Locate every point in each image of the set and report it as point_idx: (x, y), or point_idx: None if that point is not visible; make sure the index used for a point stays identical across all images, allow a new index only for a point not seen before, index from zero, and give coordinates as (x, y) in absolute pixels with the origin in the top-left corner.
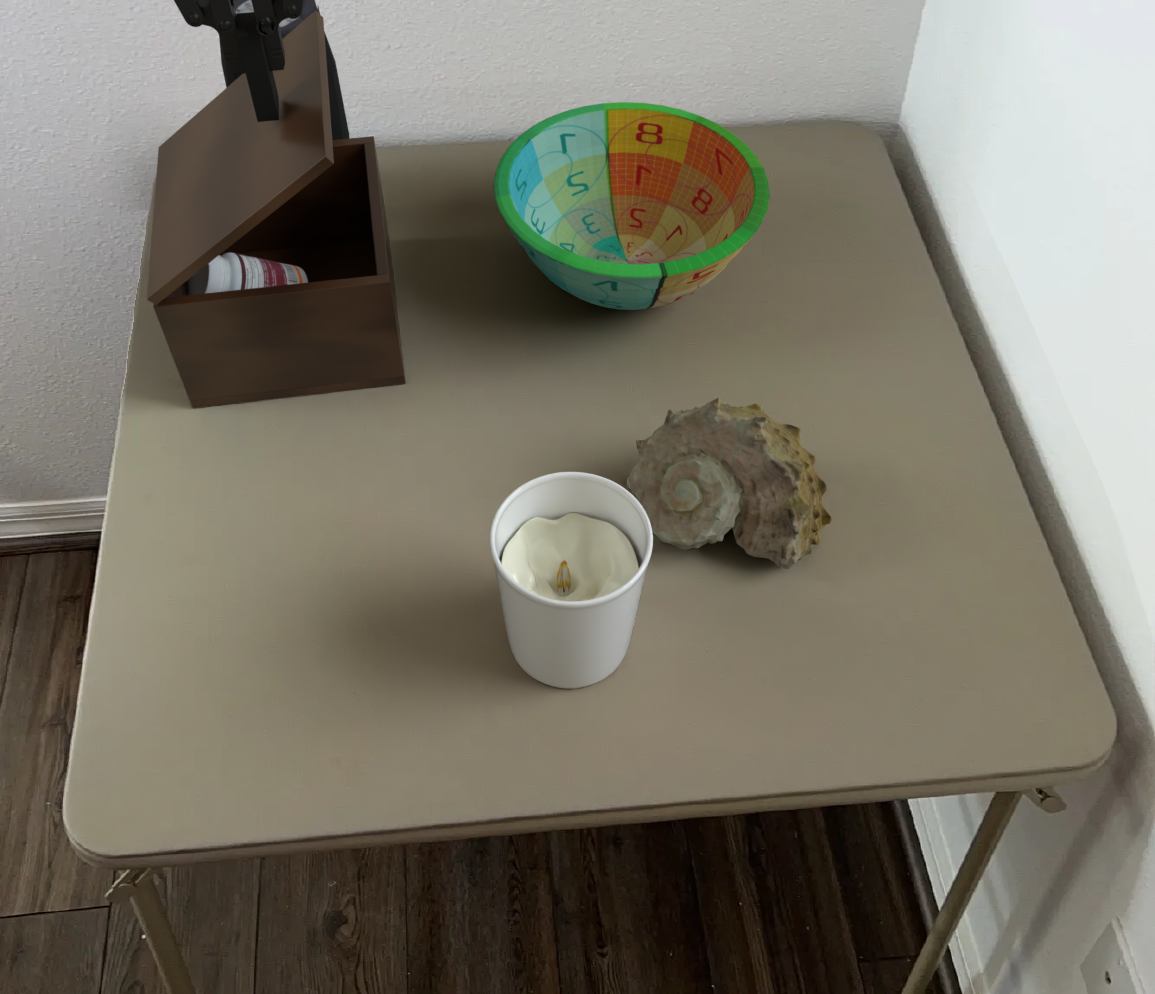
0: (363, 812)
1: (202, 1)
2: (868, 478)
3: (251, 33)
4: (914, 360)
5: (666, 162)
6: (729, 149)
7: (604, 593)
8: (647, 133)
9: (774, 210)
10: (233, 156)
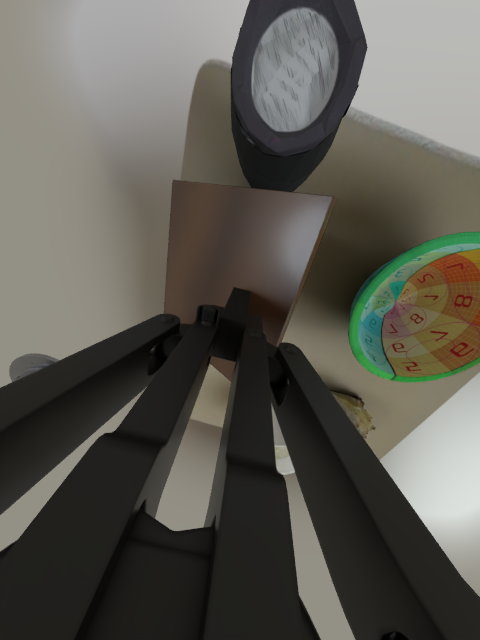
0: (214, 423)
1: (173, 348)
2: (385, 407)
3: (227, 359)
4: (447, 381)
5: (477, 273)
6: None
7: (282, 448)
8: None
9: None
10: (211, 292)
